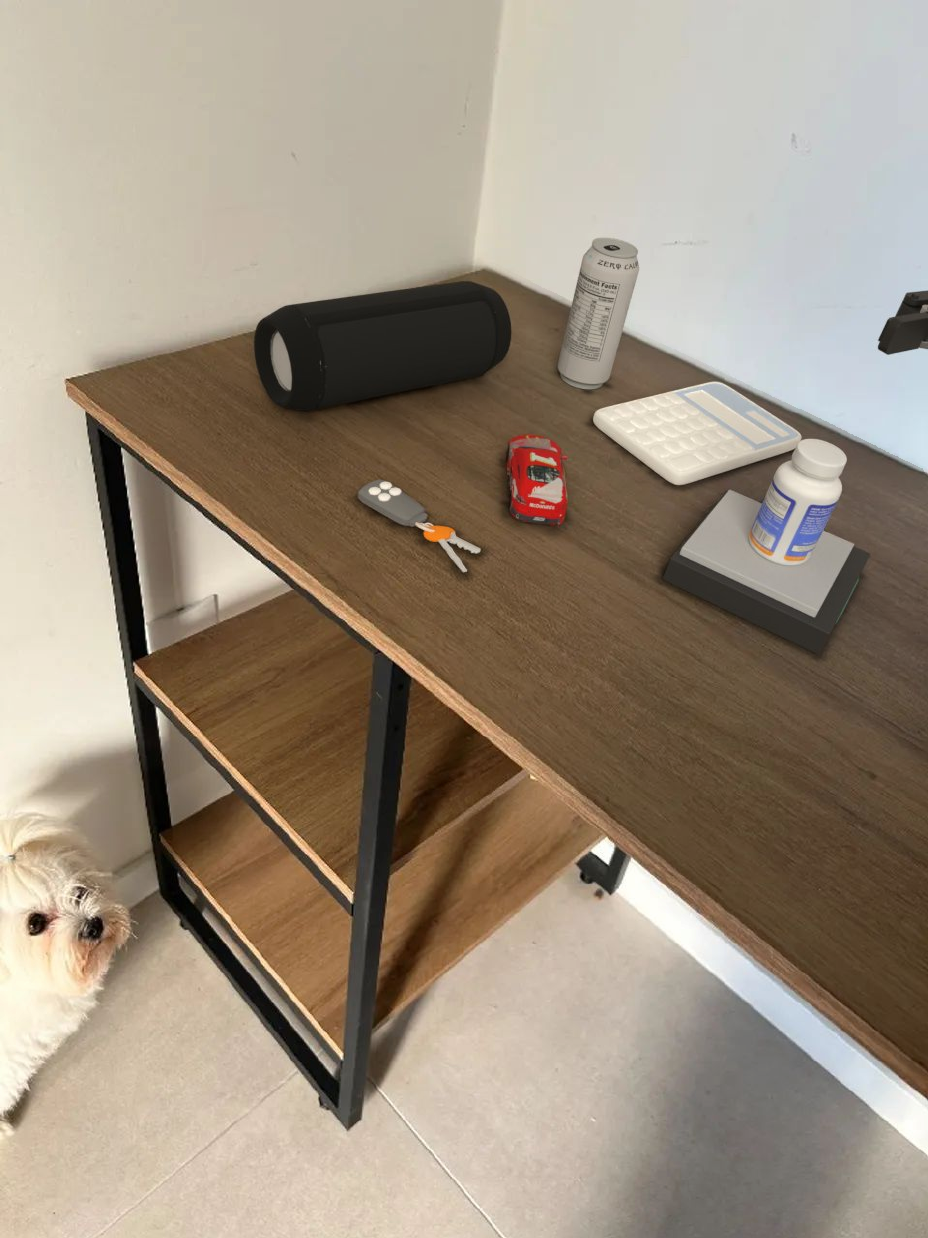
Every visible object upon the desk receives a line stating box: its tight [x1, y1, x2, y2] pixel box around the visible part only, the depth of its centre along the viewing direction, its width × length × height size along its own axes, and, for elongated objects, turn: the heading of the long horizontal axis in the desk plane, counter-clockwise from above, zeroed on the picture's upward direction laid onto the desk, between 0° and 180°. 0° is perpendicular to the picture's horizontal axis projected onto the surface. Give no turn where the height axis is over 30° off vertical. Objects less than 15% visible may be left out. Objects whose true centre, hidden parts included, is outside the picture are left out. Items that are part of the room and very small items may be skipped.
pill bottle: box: [749, 438, 848, 565], centre depth 77 cm, size 5×5×10 cm
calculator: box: [592, 381, 803, 486], centre depth 99 cm, size 13×20×2 cm, turn 125°
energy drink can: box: [557, 237, 640, 390], centre depth 101 cm, size 6×6×15 cm
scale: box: [662, 489, 871, 656], centre depth 81 cm, size 14×14×3 cm
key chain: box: [357, 479, 482, 573], centre depth 79 cm, size 13×4×2 cm, turn 50°
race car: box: [505, 434, 569, 527], centre depth 86 cm, size 13×5×4 cm, turn 178°
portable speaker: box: [253, 280, 513, 412], centre depth 94 cm, size 26×10×10 cm, turn 126°
